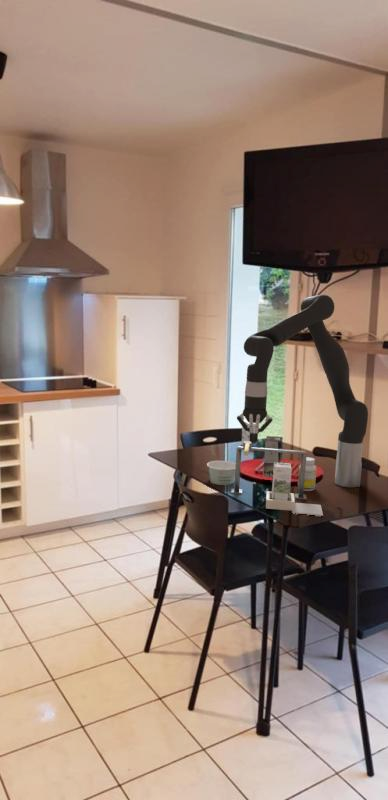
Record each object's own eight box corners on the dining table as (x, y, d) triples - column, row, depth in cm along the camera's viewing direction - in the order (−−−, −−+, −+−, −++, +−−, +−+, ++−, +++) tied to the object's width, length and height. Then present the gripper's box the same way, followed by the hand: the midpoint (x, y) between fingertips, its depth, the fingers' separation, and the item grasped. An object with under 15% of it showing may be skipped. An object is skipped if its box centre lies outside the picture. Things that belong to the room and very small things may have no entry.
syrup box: (287, 502, 214) (290, 462, 211) (288, 508, 208) (291, 467, 205) (271, 501, 214) (273, 461, 212) (272, 507, 208) (274, 466, 206)
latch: (251, 445, 221) (252, 441, 220) (250, 456, 206) (250, 451, 206) (243, 445, 221) (243, 440, 221) (241, 455, 206) (241, 451, 206)
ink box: (257, 448, 289) (258, 423, 287) (247, 448, 287) (248, 423, 285) (250, 443, 297) (251, 419, 295) (240, 444, 295) (242, 420, 293)
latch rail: (306, 496, 222) (309, 450, 219) (306, 499, 218) (310, 453, 215) (231, 490, 225) (234, 445, 222) (230, 493, 221) (233, 447, 218)
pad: (320, 506, 211) (320, 504, 211) (322, 516, 202) (323, 514, 201) (291, 504, 212) (291, 502, 212) (292, 514, 203) (292, 512, 203)
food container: (213, 487, 227) (214, 470, 226) (201, 477, 238) (201, 461, 237) (242, 484, 232) (243, 468, 231) (229, 475, 243) (230, 459, 242)
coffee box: (279, 482, 237) (281, 441, 234) (262, 480, 238) (264, 440, 235) (280, 475, 245) (283, 436, 243) (264, 474, 247) (266, 435, 244)
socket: (293, 501, 215) (293, 493, 215) (294, 510, 206) (294, 502, 205) (266, 499, 216) (266, 491, 216) (265, 508, 207) (266, 499, 206)
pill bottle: (302, 484, 235) (305, 455, 233) (318, 488, 231) (320, 459, 229) (294, 488, 230) (296, 458, 228) (309, 492, 226) (311, 462, 224)
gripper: (275, 393, 215) (272, 441, 218) (237, 391, 216) (235, 439, 219) (275, 397, 207) (272, 446, 210) (236, 394, 209) (233, 444, 212)
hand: (253, 443), depth 215 cm, fingers closed
